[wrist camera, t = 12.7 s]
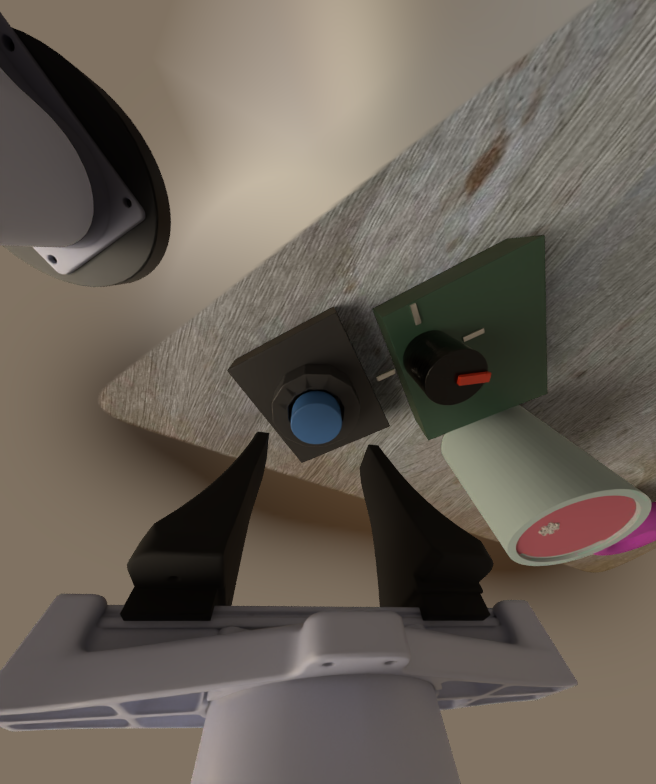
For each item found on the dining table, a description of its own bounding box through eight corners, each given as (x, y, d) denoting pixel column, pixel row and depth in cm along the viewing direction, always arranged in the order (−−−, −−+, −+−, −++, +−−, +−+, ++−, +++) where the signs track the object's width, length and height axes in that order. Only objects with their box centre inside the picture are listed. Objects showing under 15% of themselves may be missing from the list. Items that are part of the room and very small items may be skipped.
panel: (349, 320, 18) (355, 331, 15) (507, 238, 16) (547, 234, 13) (397, 427, 24) (408, 449, 21) (519, 377, 22) (549, 394, 19)
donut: (550, 535, 36) (580, 569, 32) (576, 493, 31) (614, 527, 27) (618, 525, 36) (656, 558, 32) (655, 481, 31) (705, 514, 27)
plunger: (283, 403, 17) (280, 416, 16) (326, 382, 17) (328, 394, 15) (307, 436, 19) (306, 451, 17) (347, 418, 18) (350, 432, 17)
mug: (423, 447, 25) (481, 546, 17) (497, 385, 22) (619, 468, 13) (495, 491, 30) (571, 586, 21) (565, 445, 26) (690, 536, 18)
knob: (401, 381, 18) (424, 412, 14) (403, 333, 16) (430, 356, 12) (449, 374, 18) (484, 404, 14) (457, 326, 16) (499, 346, 12)
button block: (235, 359, 19) (218, 381, 16) (333, 306, 18) (338, 318, 14) (302, 447, 24) (300, 478, 21) (383, 412, 23) (396, 440, 19)
